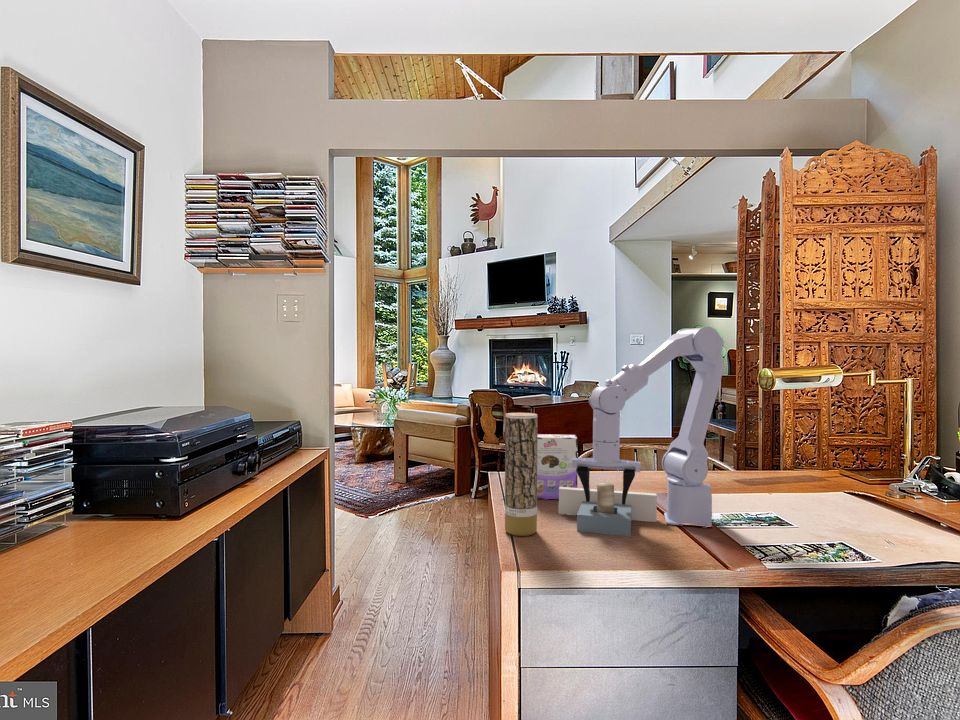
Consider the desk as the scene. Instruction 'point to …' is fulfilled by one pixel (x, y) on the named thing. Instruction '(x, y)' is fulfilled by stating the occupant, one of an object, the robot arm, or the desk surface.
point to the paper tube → (521, 473)
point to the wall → (640, 502)
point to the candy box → (555, 464)
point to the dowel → (605, 498)
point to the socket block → (604, 519)
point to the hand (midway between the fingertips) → (605, 502)
